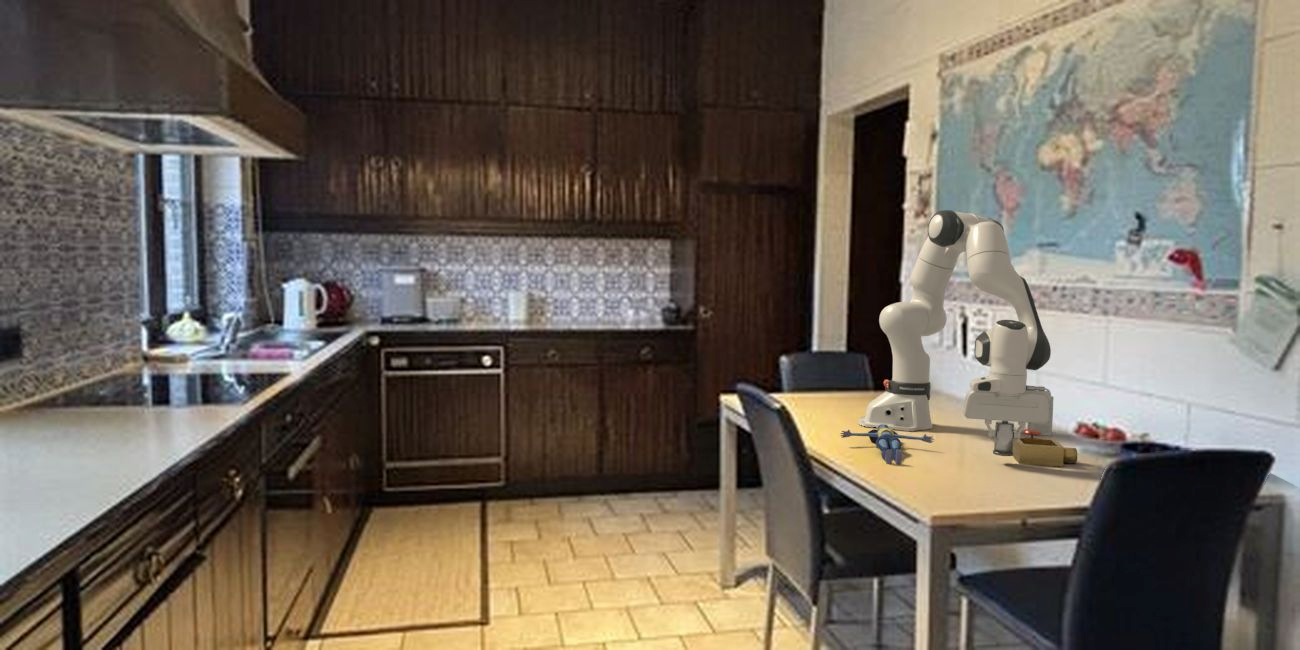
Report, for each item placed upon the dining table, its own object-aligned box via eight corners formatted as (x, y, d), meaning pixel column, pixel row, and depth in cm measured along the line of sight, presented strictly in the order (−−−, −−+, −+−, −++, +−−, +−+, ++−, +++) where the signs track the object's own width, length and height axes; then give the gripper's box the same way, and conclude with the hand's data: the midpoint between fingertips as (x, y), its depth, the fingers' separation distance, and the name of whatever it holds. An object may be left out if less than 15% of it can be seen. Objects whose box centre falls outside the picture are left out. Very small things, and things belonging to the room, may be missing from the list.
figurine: (895, 466, 216) (896, 445, 215) (826, 446, 238) (827, 427, 238) (954, 457, 227) (955, 437, 226) (883, 439, 249) (883, 421, 248)
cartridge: (994, 455, 218) (996, 420, 217) (991, 451, 222) (993, 416, 222) (1014, 456, 217) (1016, 421, 216) (1011, 452, 221) (1013, 418, 220)
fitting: (1019, 463, 220) (1020, 439, 220) (1008, 451, 235) (1010, 428, 235) (1080, 468, 217) (1081, 443, 216) (1065, 454, 232) (1067, 431, 231)
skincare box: (1046, 433, 262) (1049, 394, 261) (1052, 436, 258) (1054, 396, 257) (1026, 432, 262) (1028, 393, 262) (1031, 435, 258) (1033, 395, 257)
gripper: (1048, 385, 219) (1045, 438, 220) (964, 380, 223) (961, 432, 225) (1054, 388, 212) (1050, 443, 214) (966, 383, 217) (963, 437, 218)
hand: (1003, 438), depth 219 cm, fingers closed on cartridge, 4 cm apart
